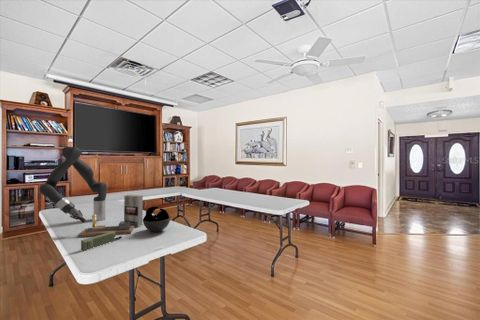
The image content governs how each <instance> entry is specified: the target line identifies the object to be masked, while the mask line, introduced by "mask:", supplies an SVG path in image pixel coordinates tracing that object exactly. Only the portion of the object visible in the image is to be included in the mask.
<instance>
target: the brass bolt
mask: <svg viewBox="0 0 480 320" xmlns="http://www.w3.org/2000/svg"><path fill="white" fill-rule="evenodd" d="M96 217H97V215H95V214H94V215H93V214H92V215H91V218H92V222H91V223H92V225H91V226H92V227H91V228H92V229H106V227H107V226H106V225H97V221H96Z"/></svg>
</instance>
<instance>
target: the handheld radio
mask: <svg viewBox="0 0 480 320" xmlns="http://www.w3.org/2000/svg"><path fill="white" fill-rule="evenodd" d="M114 232H115V231H113V232H109V233H106V234H102V235H99V236H93V237H87V238H84V239H82V240H81V241H80V251H81V250H85V251H88V250H87V249H89V250H91V249H90V248H92V249H94V248H93V247H95V248H98V247H101V246H104V245H103V244H105V245H107V244H106V243H108V244H110V243H109V242H111V243H114V242H115V241H116V240H120V239H122V238H123V237H122V236H121V235H120V236H118V237H116V236H117V235H114V234H115V233H114ZM113 241H114V242H113ZM100 245H101V246H100ZM97 246H98V247H97Z"/></svg>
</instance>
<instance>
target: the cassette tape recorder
mask: <svg viewBox="0 0 480 320" xmlns="http://www.w3.org/2000/svg"><path fill="white" fill-rule="evenodd" d="M143 196H144V195H140V194H124V196H123V198H124V199H123V201H124V202H123V204H124V205H123V216H124V217H123V221H131V226H134V228H140V227H141V225H142V226H144V223H143V202H144V201H143V198H144V197H143Z"/></svg>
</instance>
